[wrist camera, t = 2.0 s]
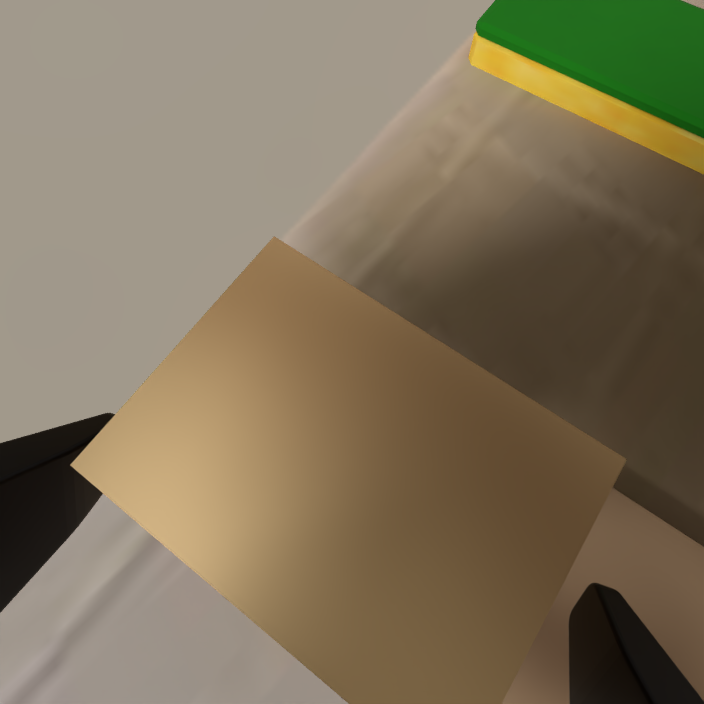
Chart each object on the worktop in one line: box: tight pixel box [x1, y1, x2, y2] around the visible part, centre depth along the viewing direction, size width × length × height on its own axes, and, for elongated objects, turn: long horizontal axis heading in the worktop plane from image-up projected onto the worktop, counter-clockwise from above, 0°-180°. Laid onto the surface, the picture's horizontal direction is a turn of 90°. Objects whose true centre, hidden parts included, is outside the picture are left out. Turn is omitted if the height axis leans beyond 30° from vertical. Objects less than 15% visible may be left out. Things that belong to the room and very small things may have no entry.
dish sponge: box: [469, 0, 704, 174], centre depth 23 cm, size 7×14×2 cm, turn 55°
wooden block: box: [71, 237, 627, 704], centre depth 12 cm, size 4×6×12 cm
